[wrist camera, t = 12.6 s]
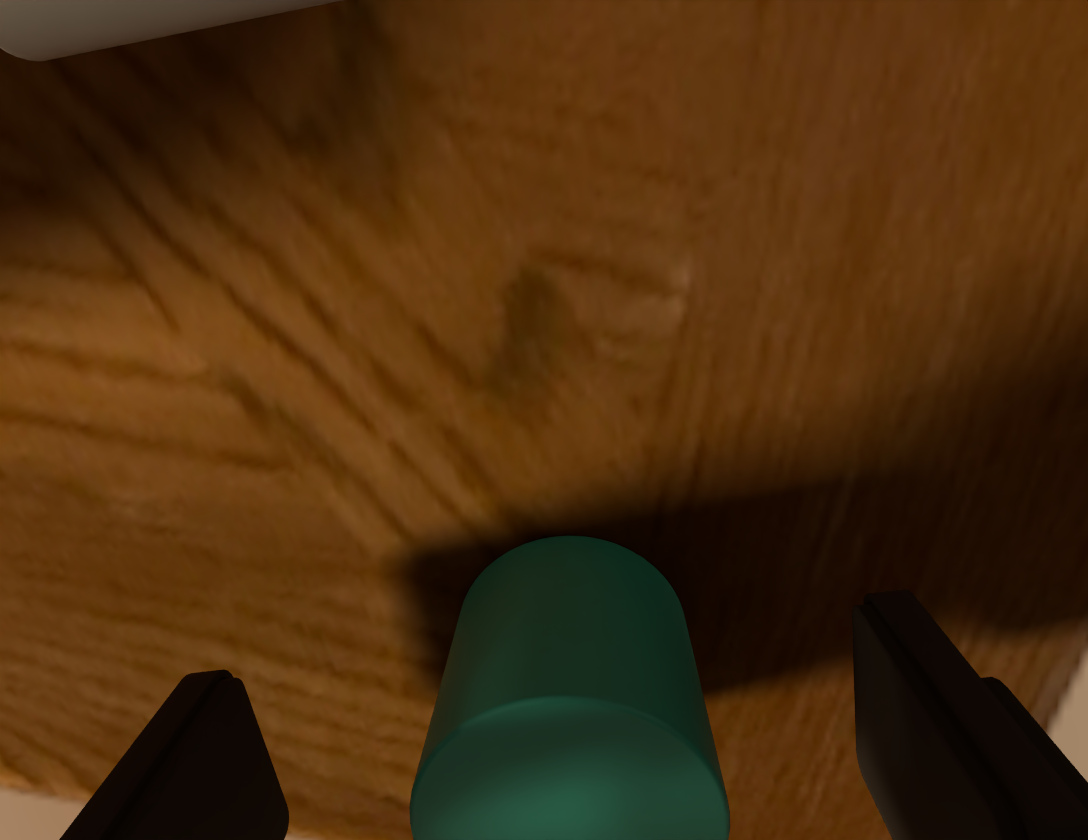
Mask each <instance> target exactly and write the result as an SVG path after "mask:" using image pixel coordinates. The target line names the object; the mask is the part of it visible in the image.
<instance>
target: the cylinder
mask: <svg viewBox="0 0 1088 840" xmlns="http://www.w3.org/2000/svg"><path fill="white" fill-rule="evenodd" d="M410 824H411V829H412V834H413V839H414V840H728V838H729V831H730V811H729V805H728V800H727V795H726V791H725V787H724V782H723V778H722V774H721V770H720V765H719V761H718V757H717V752H716V748H715V744H714V740H713V735H712V731H711V727H710V723H709V718H708V714H707V710H706V706H705V701H704V697H703V693H702V688H701V684H700V680H699V676H698V671H697V667H696V663H695V659H694V654H693V650H692V646H691V642H690V637H689V633H688V629H687V624H686V620H685V616H684V612H683V609H682V606H681V604H680V601H679V599H678V597H677V595H676V593H675V591H674V590H673V588H672V586H671V585H670V584H669V582H668V581H667V580H666V578H665V577H664V576H663V575H662V574H661V573H660V572H659V571H658V570H657V569H656V568H655V567H654V566H653V565H652V564H650V563H649V562H648V561H646V560H645V559H644V558H643V557H641V556H639V555H637V554H636V553H634V552H632V551H631V550H629V549H627V548H624V547H622V546H620V545H617V544H615V543H612V542H609V541H605V540H602V539H597V538H591V537H586V536H555V537H549V538H543V539H538V540H535V541H532V542H529V543H526V544H523V545H521V546H519V547H516V548H514V549H512V550H510V551H509V552H507V553H505V554H504V555H502V556H500V557H499V558H497V559H496V560H495V561H494V562H492V563H491V564H490V565H489V566H488V567H486V569H485V570H484V571H483V572H482V573H481V574H480V575H479V576H478V577H477V579H476V580H475V582H474V583H473V585H472V586H471V587H470V589H469V591H468V593H467V595H466V597H465V599H464V602H463V605H462V609H461V612H460V615H459V619H458V623H457V626H456V630H455V634H454V637H453V641H452V645H451V648H450V652H449V656H448V659H447V663H446V667H445V671H444V674H443V678H442V682H441V685H440V689H439V693H438V696H437V700H436V704H435V707H434V711H433V715H432V718H431V722H430V726H429V729H428V733H427V737H426V740H425V744H424V748H423V752H422V755H421V759H420V763H419V766H418V770H417V774H416V777H415V781H414V785H413V788H412V793H411V800H410Z"/></svg>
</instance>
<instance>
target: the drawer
mask: <svg viewBox="0 0 1088 840" xmlns="http://www.w3.org/2000/svg"><path fill="white" fill-rule="evenodd" d="M338 1H343V0H0V48H1V49H2V50H4V51H6V52H7V53H9V54H12V55H14V56H16V57H19V58H22V59H26V60H30V61H46V60H51V59H56V58H61V57H66V56H71V55H76V54H81V53H86V52H91V51H96V50H101V49H106V48H111V47H116V46H121V45H126V44H130V43H135V42H140V41H145V40H150V39H155V38H160V37H165V36H170V35H175V34H180V33H185V32H190V31H195V30H200V29H205V28H210V27H215V26H219V25H224V24H229V23H234V22H239V21H244V20H249V19H254V18H259V17H264V16H269V15H274V14H279V13H284V12H289V11H294V10H299V9H303V8H308V7H313V6H318V5H323V4H328V3H333V2H338Z"/></svg>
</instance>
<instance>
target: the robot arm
mask: <svg viewBox="0 0 1088 840" xmlns="http://www.w3.org/2000/svg"><path fill="white" fill-rule="evenodd" d="M852 629H853V661H854V692H855V724H856V751H857V758H858V763H859V767H860V770H861V773H862V776H863V778H864V781H865V783H866V785H867V787H868V789H869V791H870V793H871V795H872V797H873V799H874V801H875V804H876V806H877V808H878V810H879V812H880V814H881V816H882V818H883V820H884V822H885V824H886V826H887V828H888V831H889V833H890V835H891V837H892V839H893V840H1088V782H1087V781H1086V780H1085V779H1084V778H1083V776H1082V775H1081V774H1080V773H1079V772H1078V771H1077V769H1076V768H1075V767H1074V766H1073V765H1072V764H1071V763H1070V761H1069V760H1068V759H1067V758H1066V756H1065V755H1064V754H1063V753H1062V752H1061V750H1060V749H1059V748H1058V747H1057V746H1056V744H1054V742H1053V741H1052V740H1051V739H1050V737H1049V736H1048V735H1047V734H1046V733H1045V731H1044V730H1043V729H1042V728H1041V727H1040V725H1039V724H1038V723H1037V722H1036V721H1035V720H1034V718H1033V717H1032V716H1031V715H1030V714H1029V712H1028V711H1027V710H1026V709H1025V708H1024V707H1023V705H1022V704H1021V703H1020V702H1019V701H1018V699H1017V698H1016V697H1015V696H1014V695H1013V693H1012V692H1011V691H1010V690H1009V689H1008V688H1007V687H1006V686H1005V685H1004V684H1003V683H1002V682H1001V681H1000V680H998V679H996V678H993V677H986V678H980V677H979V675H978V674H977V673H976V672H975V670H974V669H973V668H972V667H971V666H970V664H969V663H968V662H967V661H966V659H965V658H964V657H963V656H962V654H961V653H960V652H959V651H958V649H957V648H956V647H955V646H954V644H953V643H952V642H951V641H950V639H949V638H948V637H947V636H946V635H945V633H944V632H943V631H942V630H941V628H940V627H939V626H938V625H937V623H936V622H935V621H934V620H933V618H932V617H931V616H930V615H929V613H928V612H927V611H926V610H925V608H924V607H923V606H922V605H921V604H920V602H919V601H918V600H917V599H916V597H915V596H914V595H913V594H912V593H911V592H910V591H909V590H907V589H902V590H893V591H885V592H876V593H868V594H866V595H865V597H864V603H863V605H855V606H854V607H853V609H852ZM288 824H289V811H288V807H287V804H286V801H285V798H284V795H283V793H282V790H281V787H280V784H279V781H278V779H277V776H276V773H275V770H274V767H273V765H272V762H271V759H270V756H269V753H268V751H267V748H266V745H265V742H264V739H263V737H262V734H261V731H260V728H259V726H258V723H257V720H256V717H255V714H254V712H253V709H252V706H251V703H250V700H249V698H248V695H247V692H246V689H245V686H244V684H243V682H242V681H241V680H240V679H239V678H233V676H232V674H231V673H230V672H229V671H227V670H216V671H207V672H199V673H191V674H188V675H186V676H185V677H184V678H183V679H182V680H181V681H180V683H179V684H178V685H177V686H176V688H175V689H174V690H173V692H172V693H171V694H170V696H169V697H168V698H167V700H166V701H165V702H164V703H163V705H162V706H161V707H160V709H159V710H158V711H157V713H156V714H155V715H154V717H153V718H152V719H151V720H150V722H149V723H148V724H147V726H146V727H145V728H144V730H143V731H142V732H141V734H140V735H139V736H138V737H137V739H136V740H135V741H134V743H133V744H132V745H131V747H130V748H129V749H128V751H127V752H126V753H125V754H124V756H123V757H122V758H121V760H120V761H119V762H118V764H117V765H116V766H115V768H114V769H113V770H112V771H111V773H110V774H109V775H108V777H107V778H106V779H105V781H104V782H103V783H102V785H101V786H100V787H99V788H98V790H97V791H96V792H95V794H94V795H93V796H92V798H91V799H90V800H89V802H88V803H87V804H86V805H85V807H84V808H83V809H82V811H81V812H80V813H79V815H78V816H77V817H76V819H75V820H74V821H73V822H72V824H71V825H70V827H69V828H68V829H67V830H66V832H65V833H64V834H63V836H62V837H61V838H60V839H59V840H284V838H285V836H286V833H287V830H288Z"/></svg>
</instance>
